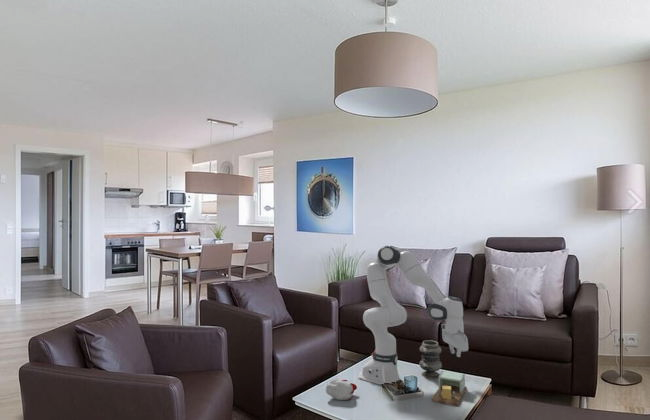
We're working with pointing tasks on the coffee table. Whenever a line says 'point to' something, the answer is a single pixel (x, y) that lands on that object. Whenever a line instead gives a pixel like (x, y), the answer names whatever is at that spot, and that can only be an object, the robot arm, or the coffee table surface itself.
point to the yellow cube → (446, 392)
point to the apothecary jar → (430, 358)
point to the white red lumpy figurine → (340, 389)
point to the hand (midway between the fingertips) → (455, 354)
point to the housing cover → (452, 379)
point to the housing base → (455, 396)
